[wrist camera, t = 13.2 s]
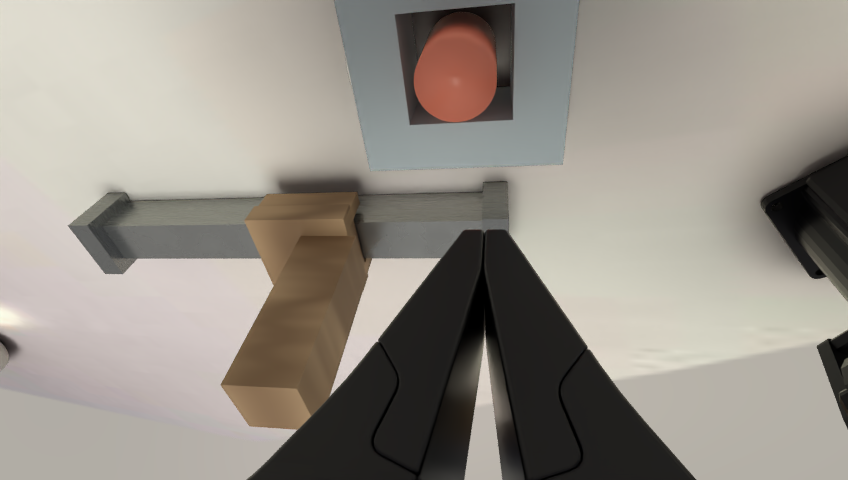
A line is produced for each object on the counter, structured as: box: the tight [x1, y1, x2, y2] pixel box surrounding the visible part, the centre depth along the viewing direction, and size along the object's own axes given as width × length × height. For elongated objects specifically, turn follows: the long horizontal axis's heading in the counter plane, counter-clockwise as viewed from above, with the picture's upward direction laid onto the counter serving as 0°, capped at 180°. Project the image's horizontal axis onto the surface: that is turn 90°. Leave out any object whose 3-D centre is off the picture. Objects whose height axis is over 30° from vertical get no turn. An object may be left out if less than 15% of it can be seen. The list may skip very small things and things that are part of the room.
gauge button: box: [414, 12, 497, 122], centre depth 16 cm, size 3×3×4 cm
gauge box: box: [334, 0, 579, 171], centre depth 17 cm, size 8×8×4 cm
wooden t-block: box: [221, 192, 372, 429], centre depth 20 cm, size 5×5×11 cm
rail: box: [68, 182, 509, 274], centre depth 24 cm, size 24×4×3 cm, turn 96°
